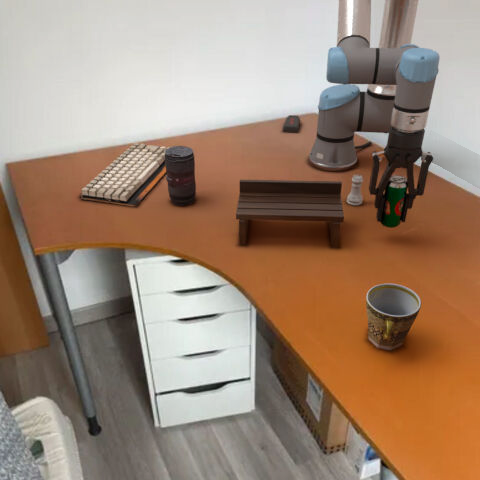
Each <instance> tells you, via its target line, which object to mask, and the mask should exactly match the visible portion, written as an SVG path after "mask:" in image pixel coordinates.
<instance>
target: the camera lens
mask: <svg viewBox="0 0 480 480" xmlns="http://www.w3.org/2000/svg"><path fill="white" fill-rule="evenodd" d="M169 147H170V148H168V147H167V148H168V149H166V150H165V167H166V171H167V172H166V174H165V179H166V183H167V191H168V196H169V198H170V200H171V203H172V204H173V205H175V206H182V207H183V206H188V205H191V204H193V203H194V202H195V200H196V195H197V192H196V191H197V184H196V183H197V181H196V173H195V171H196V170H195V169H196V163H195V162H196V161H195V154H194V150H193V148H191V147H190V146H184V145H174V146H169Z"/></svg>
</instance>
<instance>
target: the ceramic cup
mask: <svg viewBox="0 0 480 480" xmlns="http://www.w3.org/2000/svg"><path fill="white" fill-rule="evenodd" d="M365 300H366V301H365V306H366V317H367V331H368V332H367V334H368V340H369V341H370V342H371V343H372V344H373V345H374V346H375V347H376V348H377V349H380V350H386V351H392V350H394V349H397V348H399V347H401V346H402V345H403V344H404V342H405V340H406V338H407V336H408V334H409V332H410V330H411V327H412V326H413V325H414V323H415V321H416V319H417V317H418V315H419V313H420V310H421V308H422V300H421V298H420V296H419V295H418V294H417V293H416V292H415V291H414V290H413V289H411V288H409V287H407V286H404V285H401V284H397V283H381V284H376V285H374V286H373V287H371V288H370V289H369V290H368V291H367V293H366V297H365Z"/></svg>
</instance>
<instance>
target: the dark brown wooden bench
mask: <svg viewBox="0 0 480 480" xmlns="http://www.w3.org/2000/svg"><path fill="white" fill-rule="evenodd" d="M342 186H343V181H335V180H334V181H332V180H285V179H284V180H279V179H278V180H277V179H276V180H275V179H271V180H270V179H239V193H238V194H239V195H238V199H237V206H236V212H235V220H238V231H239V232H238V242H239V243H238V244H239V246H246V243H247V235H248V227H249V221H283V222H284V221H285V222H286V221H288V222H296V221H297V222H322V223H323V222H325V223H326V222H328V227H329V235H330V245H331V248H332V249H338V248H339V241H340V233H341V232H340V231H341V223H344V222H345V214H344V207H343V206H344V205H343V201H342V200H343V199H342Z"/></svg>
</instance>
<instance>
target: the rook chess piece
mask: <svg viewBox="0 0 480 480" xmlns="http://www.w3.org/2000/svg"><path fill="white" fill-rule="evenodd" d="M351 181H352V183H351V189H350V193H349V194H348V195H347V198H346V202H347V204H348V205H349V206H352V207H356V206H360V205H362V203H363V201H364V198H363V195H362V186H363V184H362V183H363V182H364V178H363V175H361V174H354V175H352V178H351Z"/></svg>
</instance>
